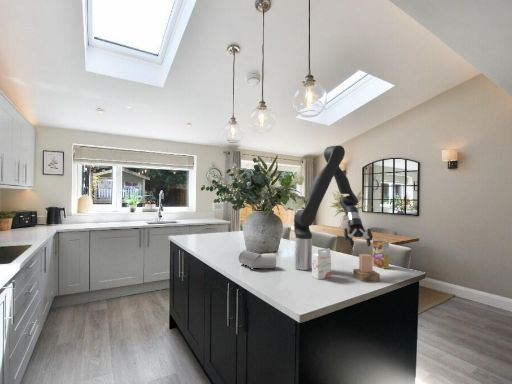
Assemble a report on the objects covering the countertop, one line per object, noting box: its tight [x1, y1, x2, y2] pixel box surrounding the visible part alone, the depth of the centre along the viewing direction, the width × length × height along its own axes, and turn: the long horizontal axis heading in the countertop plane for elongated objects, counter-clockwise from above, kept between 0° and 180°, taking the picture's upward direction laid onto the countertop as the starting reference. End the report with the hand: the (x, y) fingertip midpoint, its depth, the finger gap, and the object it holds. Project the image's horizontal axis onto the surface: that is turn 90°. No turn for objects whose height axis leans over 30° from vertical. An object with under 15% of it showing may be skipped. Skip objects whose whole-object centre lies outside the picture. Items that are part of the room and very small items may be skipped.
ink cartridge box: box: [311, 248, 332, 280], centre depth 133 cm, size 9×5×15 cm, turn 117°
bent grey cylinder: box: [238, 249, 277, 269], centre depth 151 cm, size 18×11×20 cm
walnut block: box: [352, 268, 381, 283], centre depth 131 cm, size 9×9×4 cm
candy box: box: [372, 239, 390, 270], centre depth 154 cm, size 9×4×15 cm, turn 17°
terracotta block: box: [358, 253, 374, 273], centre depth 132 cm, size 5×5×8 cm
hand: (360, 245), depth 139 cm, fingers open, 8 cm apart
